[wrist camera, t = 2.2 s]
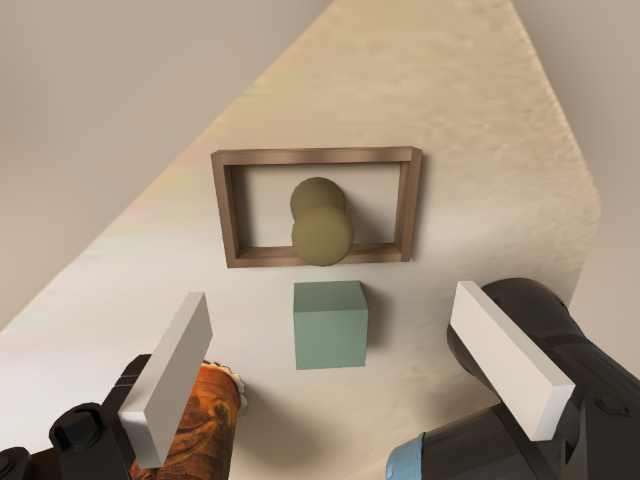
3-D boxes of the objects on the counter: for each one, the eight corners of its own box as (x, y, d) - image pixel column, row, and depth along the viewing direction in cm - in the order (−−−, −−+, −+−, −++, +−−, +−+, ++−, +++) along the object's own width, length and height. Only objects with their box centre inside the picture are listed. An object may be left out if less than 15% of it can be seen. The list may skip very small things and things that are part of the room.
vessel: (257, 355, 42) (222, 551, 24) (253, 424, 48) (223, 624, 30) (146, 349, 41) (21, 552, 23) (156, 421, 46) (63, 628, 28)
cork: (279, 209, 34) (270, 252, 24) (311, 165, 33) (316, 191, 22) (322, 239, 36) (330, 290, 26) (355, 198, 34) (378, 236, 24)
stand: (358, 280, 38) (368, 309, 33) (356, 332, 42) (365, 366, 36) (294, 283, 38) (293, 312, 32) (297, 334, 41) (296, 369, 36)
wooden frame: (411, 146, 32) (422, 149, 30) (401, 250, 37) (409, 261, 34) (218, 150, 31) (210, 154, 29) (233, 256, 36) (227, 268, 33)
